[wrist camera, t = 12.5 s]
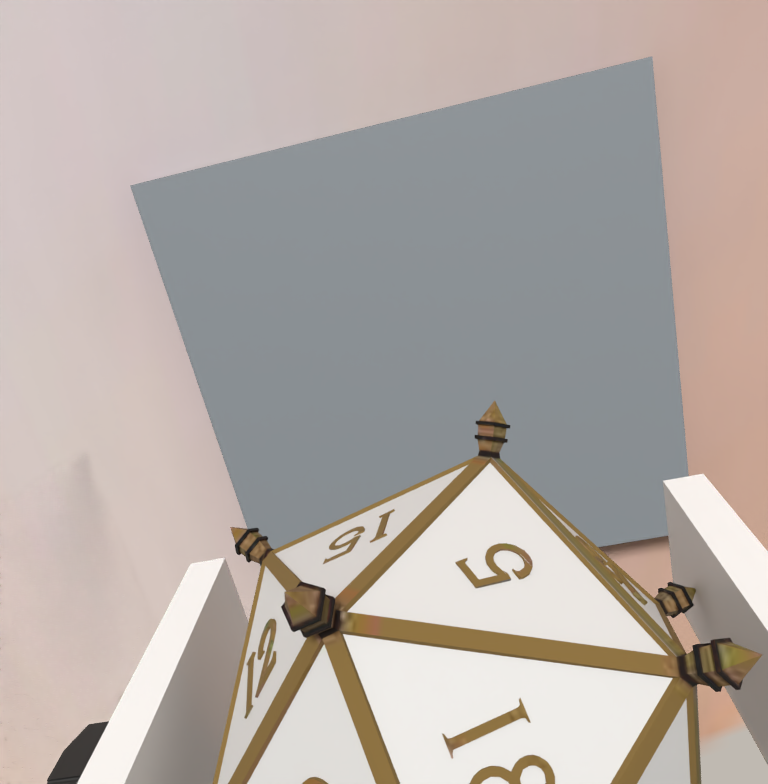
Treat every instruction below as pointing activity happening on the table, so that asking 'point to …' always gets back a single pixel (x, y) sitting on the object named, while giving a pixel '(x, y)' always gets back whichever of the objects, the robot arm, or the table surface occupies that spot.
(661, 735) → the game die
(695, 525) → the robot arm
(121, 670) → the table surface
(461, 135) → the board
